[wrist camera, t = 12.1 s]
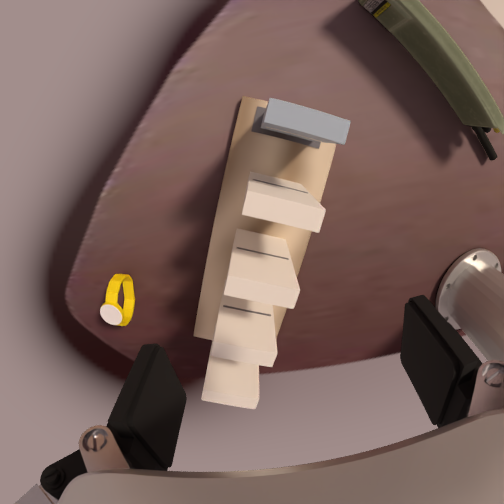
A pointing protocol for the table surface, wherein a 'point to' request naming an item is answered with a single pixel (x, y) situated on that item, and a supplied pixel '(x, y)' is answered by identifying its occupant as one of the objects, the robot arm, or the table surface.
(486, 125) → the handheld radio
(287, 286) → the domino
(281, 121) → the domino
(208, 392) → the domino
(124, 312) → the yellow wristwatch
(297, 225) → the domino
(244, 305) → the domino
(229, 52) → the table surface
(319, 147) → the board
